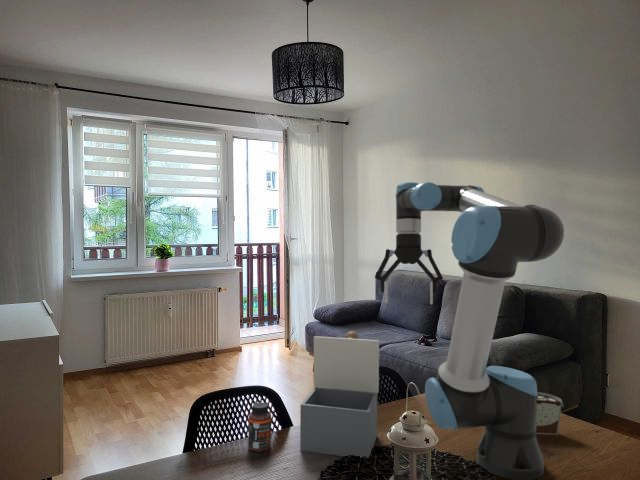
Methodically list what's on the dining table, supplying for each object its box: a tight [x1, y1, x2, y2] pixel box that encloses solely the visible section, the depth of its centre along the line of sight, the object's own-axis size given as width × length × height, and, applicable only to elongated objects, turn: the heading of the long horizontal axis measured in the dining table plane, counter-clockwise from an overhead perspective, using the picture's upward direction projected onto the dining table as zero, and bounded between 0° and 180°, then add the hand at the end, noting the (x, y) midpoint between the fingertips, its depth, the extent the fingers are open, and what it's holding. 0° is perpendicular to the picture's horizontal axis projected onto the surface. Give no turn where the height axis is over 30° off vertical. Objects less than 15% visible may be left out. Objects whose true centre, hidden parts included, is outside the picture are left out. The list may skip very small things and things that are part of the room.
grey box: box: [299, 387, 378, 457], centre depth 125 cm, size 18×14×12 cm
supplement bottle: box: [247, 401, 272, 453], centre depth 122 cm, size 6×6×11 cm
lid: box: [313, 330, 380, 394], centre depth 137 cm, size 19×15×11 cm
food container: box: [536, 391, 564, 436], centre depth 134 cm, size 12×6×10 cm, turn 84°
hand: (408, 303), depth 141 cm, fingers open, 13 cm apart
